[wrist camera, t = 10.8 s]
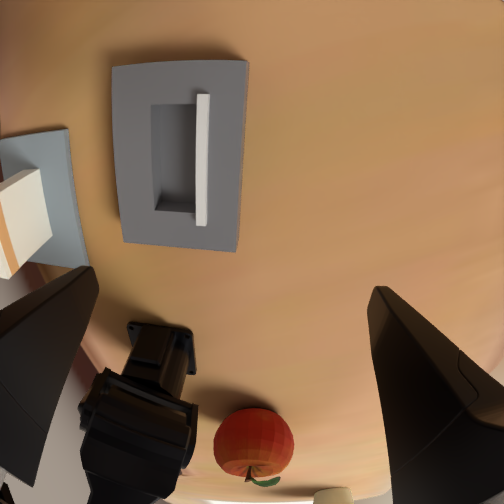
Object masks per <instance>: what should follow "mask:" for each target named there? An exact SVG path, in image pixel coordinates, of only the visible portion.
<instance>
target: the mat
mask: <svg viewBox="0 0 504 504" xmlns="http://www.w3.org/2000/svg"><path fill="white" fill-rule="evenodd" d="M0 159H1V166H2V172H3V177H4V181H5V180H6V179H8V178H10V177H11V176H13V175H15V174H17V173H19V172H20V171H22V170H27V169H40V175H41V181H42V187H43V193H44V198H45V203H46V208H47V213H48V218H49V222H50V227H51V231H52V235H53V236H52V237H51V238H50V239H48V240H47V241H46V242H45V243H44V244H43V245H42V246H41V247H40V248H39V249H38V250H37V251H36V252H35V253H34V254H33V255H32V256H31V257H30V258H29V259H28V260H27V261H30V262H36V263H42V264H49V265H55V266H62V267H69V268H77V267H79V266H81V265H85V266H90V264H89V260H88V256H87V252H86V247H85V242H84V238H83V233H82V228H81V223H80V217H79V212H78V206H77V200H76V193H75V187H74V180H73V172H72V164H71V154H70V144H69V132H68V129H61V130H53V131H45V132H38V133H32V134H26V135H20V136H14V137H9V138H3V139H1V140H0Z"/></svg>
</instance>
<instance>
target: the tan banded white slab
mask: <svg viewBox="0 0 504 504" xmlns="http://www.w3.org/2000/svg"><path fill="white" fill-rule="evenodd" d="M52 236H53V235H52V231H51V227H50V222H49V218H48V213H47V208H46V203H45V198H44V193H43V187H42V181H41V175H40V169H27V170H22V171H20V172H19V173H17V174H15V175H13V176H11V177H10V178H8V179H6V180H5V181H3V182H1V183H0V278H4V279H9V278H10V277H11V276H13V275H14V274H15V273H16V272H17V270H18V269H19V268H20V267H21V266H22V265H23V264H24V263H25V262H26V261H27V260H28V259H29V258H30V257H31V256H32V255H33V254H34V253H35V252H36V251H37V250H38V249H39V248H40V247H41V246H42V245H43V244H44V243H45V242H46V241H47V240H48V239H50V238H51V237H52Z"/></svg>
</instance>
